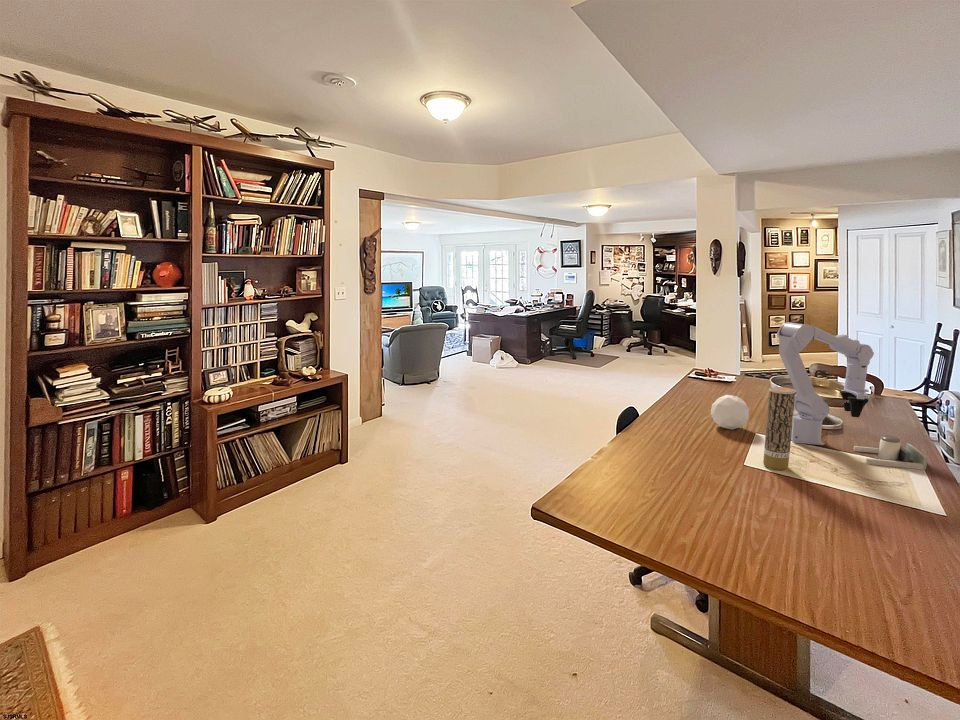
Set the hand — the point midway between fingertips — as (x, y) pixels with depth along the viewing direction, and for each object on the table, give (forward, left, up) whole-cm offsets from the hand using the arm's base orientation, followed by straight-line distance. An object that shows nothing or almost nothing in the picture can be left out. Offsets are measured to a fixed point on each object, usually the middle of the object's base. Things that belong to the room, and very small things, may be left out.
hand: (851, 413), depth 174 cm
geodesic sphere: (-39, +1, -10) cm, 40 cm away
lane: (+5, -19, -9) cm, 22 cm away
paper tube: (-29, -37, -10) cm, 48 cm away
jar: (+5, -19, -9) cm, 22 cm away
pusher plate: (+8, -19, -9) cm, 23 cm away
